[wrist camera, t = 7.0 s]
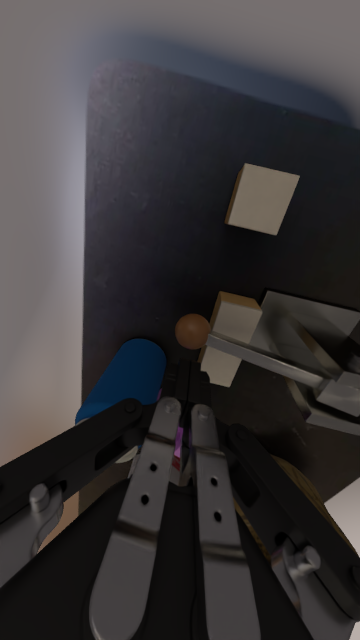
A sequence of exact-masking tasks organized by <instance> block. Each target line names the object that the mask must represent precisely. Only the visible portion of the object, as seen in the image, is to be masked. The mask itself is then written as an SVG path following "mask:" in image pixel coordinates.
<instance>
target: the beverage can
mask: <svg viewBox="0 0 360 640" xmlns="http://www.w3.org/2000/svg"><path fill="white" fill-rule="evenodd" d="M165 367H166V356H165V354H164V352H163V351H162V349H161V348H160V347H159V346H158V345H156V344H155V343H153V342H151V341H149V340H146V339H132V340H129V341H127V342H125V343H124V344H123V345H122V346H121V348H120V349H119V351H118V352H117V354H116V355H115V357H114V358H113V360H112V361H111V363H110V364H109V366H108V367H107V369H106V370H105V372H104V373H103V375H102V376H101V378H100V379H99V381H98V382H97V384H96V385H95V387H94V388H93V390H92V391H91V393H90V394H89V396H88V397H87V399H86V400H85V402H84V403H83V405H82V406H81V408H80V409H79V411H78V412H77V415H76V419H75V426H76V425H78V424H80V423H81V422H83V421H85V420H87V419H89V418H91V417H92V416H94V415H96V414H98V413H100V412H101V411H103V410H105V409H107V408H109V407H111V406H112V405H114V404H116V403H118V402H120V401H121V400H123V399H126V398H135V399H137V400H139V401H140V402H141V403H142V405H148V404H153V403H155V402H156V401H157V397H158V393H159V390H160V386H161V382H162V379H163V375H164V371H165ZM141 446H142V445H140V446H134V448H133V449H132V450H130V451H129V452H128V453H126V454H125V455H124V456H123V457H121V458H120V459H119V460H117V461H116V462H115V463H121V462H126V461H128V460H130V459H132V458H133V457H134V456H135V455H136V453H137V451H138V449H139V448H140V447H141Z"/></svg>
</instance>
